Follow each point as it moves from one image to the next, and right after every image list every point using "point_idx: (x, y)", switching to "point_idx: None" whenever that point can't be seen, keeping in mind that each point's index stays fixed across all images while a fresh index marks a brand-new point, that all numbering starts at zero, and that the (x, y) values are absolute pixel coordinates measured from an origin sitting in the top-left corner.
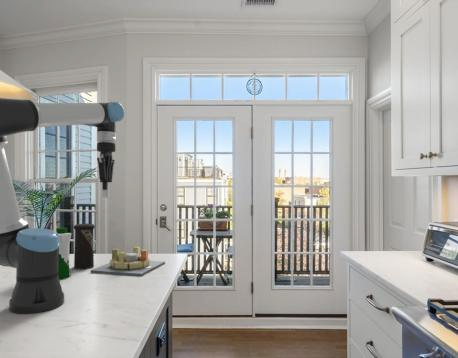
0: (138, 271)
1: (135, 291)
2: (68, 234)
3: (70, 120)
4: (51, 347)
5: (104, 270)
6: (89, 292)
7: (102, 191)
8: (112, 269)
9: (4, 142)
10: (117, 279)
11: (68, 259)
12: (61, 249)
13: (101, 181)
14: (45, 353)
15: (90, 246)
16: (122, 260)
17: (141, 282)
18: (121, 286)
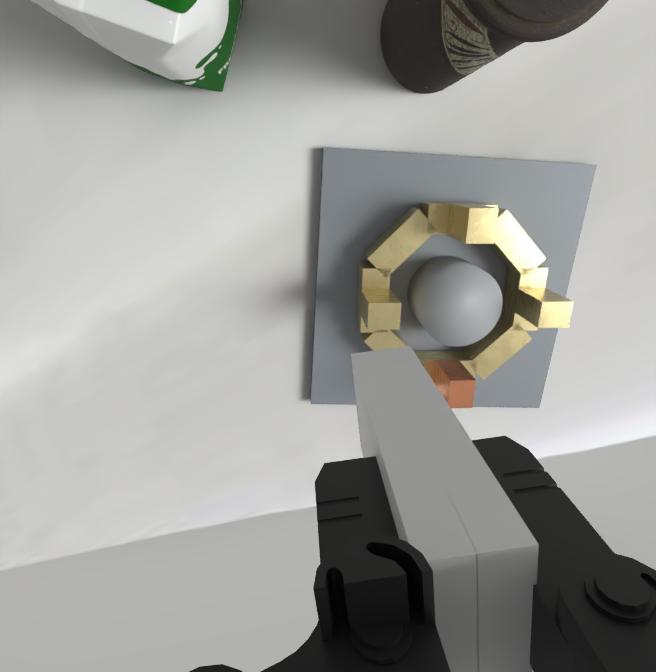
0: (343, 377)
1: (120, 461)
2: (140, 36)
3: None
4: None
5: (332, 222)
6: (50, 323)
7: (369, 411)
8: (358, 249)
9: None
10: (242, 333)
11: (185, 78)
12: (105, 47)
13: (331, 611)
14: None
15: (446, 65)
16: (361, 313)
17: (227, 434)
18: (158, 393)
